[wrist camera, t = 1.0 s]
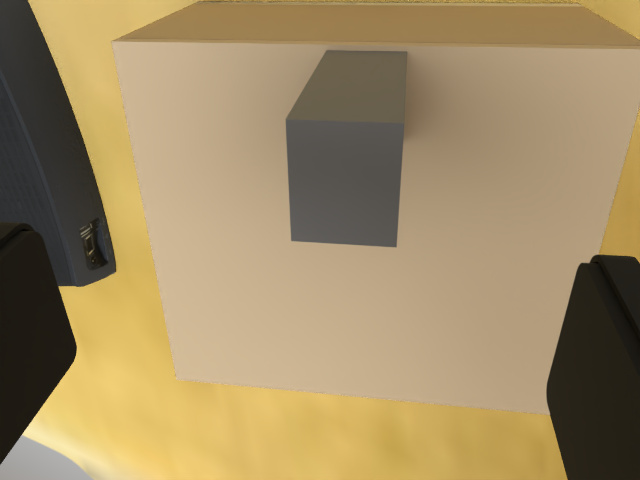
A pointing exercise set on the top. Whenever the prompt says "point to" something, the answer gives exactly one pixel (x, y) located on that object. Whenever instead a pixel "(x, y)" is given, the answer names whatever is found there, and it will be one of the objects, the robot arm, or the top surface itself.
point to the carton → (389, 23)
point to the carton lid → (375, 207)
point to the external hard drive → (47, 156)
